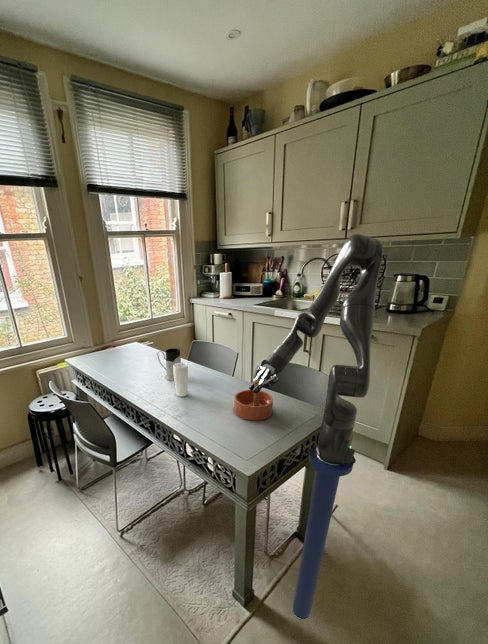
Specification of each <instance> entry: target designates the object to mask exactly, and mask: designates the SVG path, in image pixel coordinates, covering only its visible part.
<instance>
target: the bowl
mask: <svg viewBox="0 0 488 644" xmlns="http://www.w3.org/2000/svg"><path fill="white" fill-rule="evenodd" d="M253 399H254V392H253V391H251V390H250V389H245V390H240V391H238V392H237V393H235V395H234V399H233V409H234V411H233V412H234V413H235V414H236V415H237V416H238V417H240V418H242V419H245V420H250V421H261V420H265V419H268V418H269V417H270V416H271V415H272V414H273V407H274V406H273V405H274V398H273V396H272V395H271V394H270V393H268V392H266V391H263V390H260V392H259V403H261V404H262V406H249V405H250V403H252V402H253Z"/></svg>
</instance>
